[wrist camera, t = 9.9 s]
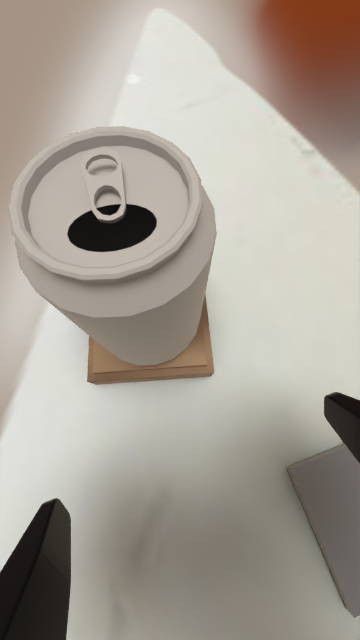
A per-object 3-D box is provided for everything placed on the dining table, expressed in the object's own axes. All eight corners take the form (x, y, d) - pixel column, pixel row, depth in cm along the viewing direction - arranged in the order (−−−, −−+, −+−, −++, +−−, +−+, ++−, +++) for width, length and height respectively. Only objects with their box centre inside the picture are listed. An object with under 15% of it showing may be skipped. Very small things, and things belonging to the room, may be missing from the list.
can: (103, 377, 18) (-27, 320, 7) (94, 282, 21) (-14, 123, 9) (209, 356, 18) (253, 269, 7) (188, 266, 21) (195, 94, 10)
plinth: (211, 376, 21) (214, 371, 18) (95, 384, 20) (84, 380, 18) (199, 274, 24) (202, 259, 21) (99, 281, 23) (90, 266, 21)
